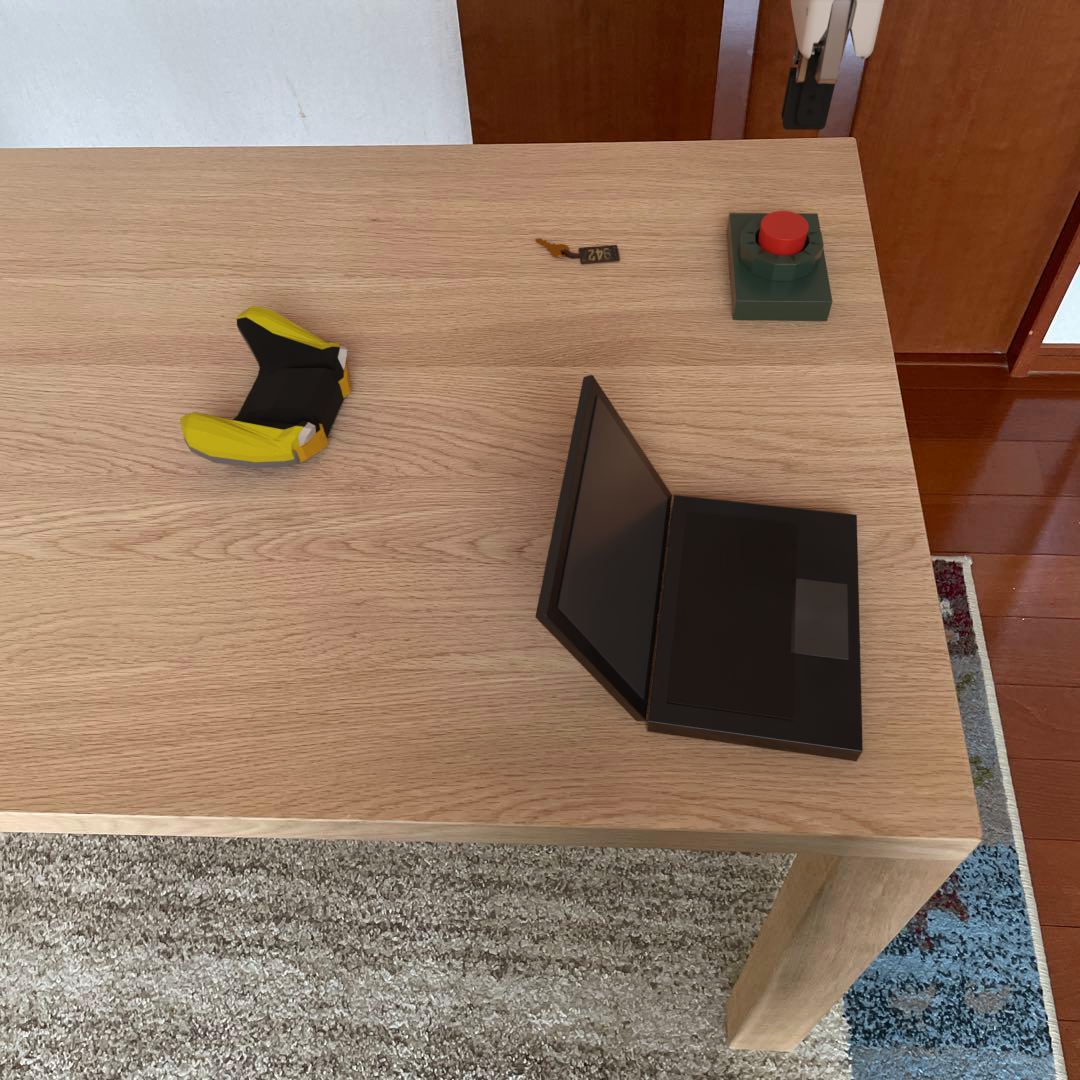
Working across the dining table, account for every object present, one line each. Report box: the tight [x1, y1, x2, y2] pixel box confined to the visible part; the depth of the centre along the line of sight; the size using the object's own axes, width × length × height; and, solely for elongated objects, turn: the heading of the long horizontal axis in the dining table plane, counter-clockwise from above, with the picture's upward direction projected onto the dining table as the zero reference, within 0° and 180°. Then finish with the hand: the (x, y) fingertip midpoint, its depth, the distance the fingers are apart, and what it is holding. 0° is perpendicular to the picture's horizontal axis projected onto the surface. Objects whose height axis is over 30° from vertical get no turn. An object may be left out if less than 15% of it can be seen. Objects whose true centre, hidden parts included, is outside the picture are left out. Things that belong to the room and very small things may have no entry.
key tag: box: [535, 238, 621, 265], centre depth 86 cm, size 8×3×1 cm, turn 80°
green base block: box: [726, 212, 833, 322], centre depth 82 cm, size 12×8×4 cm, turn 176°
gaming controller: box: [179, 305, 352, 469], centre depth 74 cm, size 15×6×10 cm
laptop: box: [646, 494, 864, 762], centre depth 63 cm, size 13×18×2 cm
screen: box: [534, 374, 673, 723], centre depth 59 cm, size 13×18×1 cm
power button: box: [758, 210, 809, 255], centre depth 80 cm, size 4×4×2 cm
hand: (802, 123), depth 72 cm, fingers closed
